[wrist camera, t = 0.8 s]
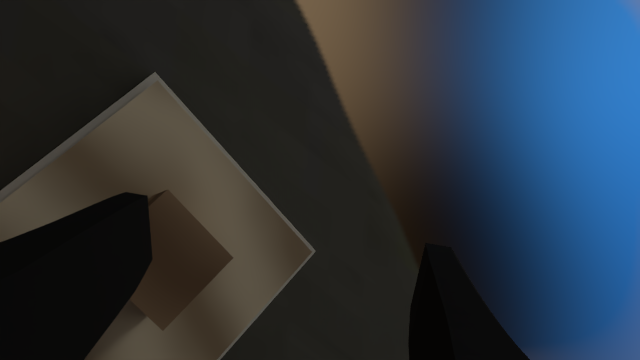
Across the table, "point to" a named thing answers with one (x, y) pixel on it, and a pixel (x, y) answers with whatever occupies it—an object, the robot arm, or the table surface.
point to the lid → (170, 230)
